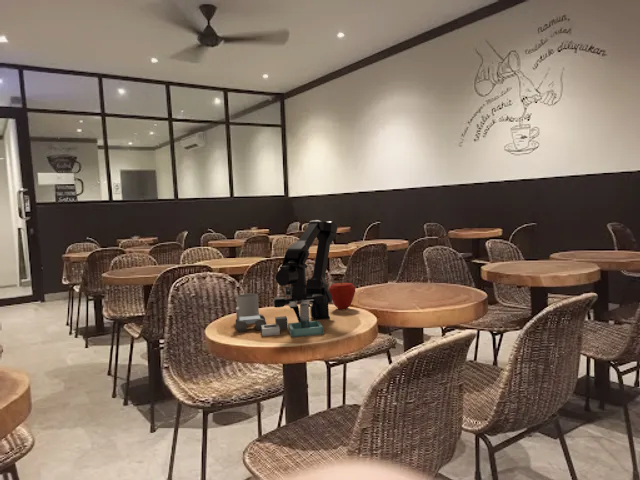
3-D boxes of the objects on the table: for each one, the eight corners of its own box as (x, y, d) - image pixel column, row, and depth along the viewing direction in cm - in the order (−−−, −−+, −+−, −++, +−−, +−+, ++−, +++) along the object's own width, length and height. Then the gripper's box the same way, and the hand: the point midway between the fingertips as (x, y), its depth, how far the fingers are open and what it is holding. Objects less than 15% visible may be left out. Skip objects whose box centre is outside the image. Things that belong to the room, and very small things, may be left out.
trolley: (265, 324, 185) (264, 303, 184) (266, 330, 175) (265, 308, 175) (236, 327, 183) (234, 306, 182) (236, 332, 174) (234, 310, 173)
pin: (309, 329, 171) (307, 303, 171) (310, 331, 168) (309, 305, 168) (300, 329, 171) (299, 304, 170) (301, 331, 168) (300, 306, 167)
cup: (254, 322, 189) (253, 297, 188) (235, 322, 190) (233, 297, 190) (261, 317, 197) (260, 293, 196) (242, 317, 199) (241, 293, 198)
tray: (318, 327, 175) (318, 320, 175) (323, 334, 165) (323, 326, 165) (288, 330, 173) (288, 323, 173) (291, 337, 164) (291, 329, 163)
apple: (357, 306, 210) (356, 278, 210) (353, 311, 200) (352, 282, 199) (332, 306, 213) (331, 279, 212) (327, 311, 202) (326, 282, 202)
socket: (278, 330, 174) (278, 323, 174) (279, 334, 168) (279, 327, 168) (261, 332, 173) (261, 325, 173) (262, 336, 167) (262, 329, 167)
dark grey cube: (286, 326, 179) (285, 316, 179) (287, 329, 176) (287, 318, 175) (275, 327, 179) (275, 317, 179) (276, 330, 175) (276, 319, 175)
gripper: (319, 277, 187) (321, 316, 188) (271, 280, 184) (273, 321, 185) (324, 280, 176) (326, 323, 177) (273, 284, 173) (275, 327, 174)
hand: (300, 323), depth 178 cm, fingers closed
